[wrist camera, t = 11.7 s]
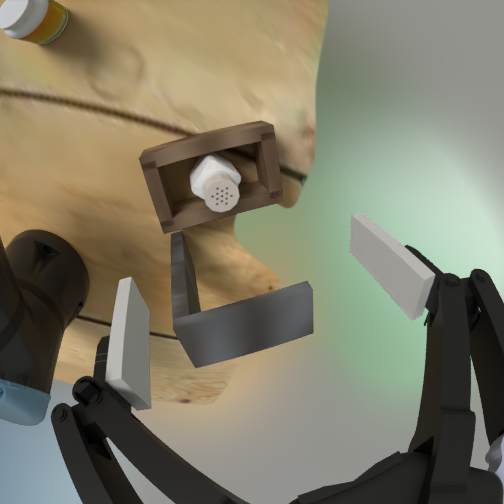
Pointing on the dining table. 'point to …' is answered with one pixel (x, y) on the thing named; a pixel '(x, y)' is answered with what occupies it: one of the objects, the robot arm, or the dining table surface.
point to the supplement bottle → (33, 20)
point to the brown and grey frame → (182, 269)
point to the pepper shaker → (215, 182)
